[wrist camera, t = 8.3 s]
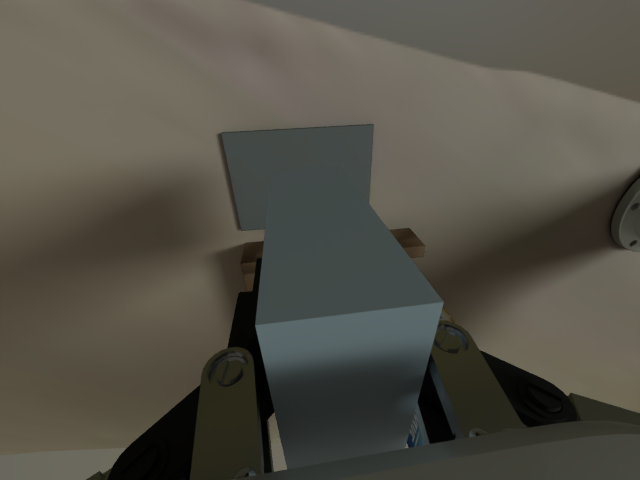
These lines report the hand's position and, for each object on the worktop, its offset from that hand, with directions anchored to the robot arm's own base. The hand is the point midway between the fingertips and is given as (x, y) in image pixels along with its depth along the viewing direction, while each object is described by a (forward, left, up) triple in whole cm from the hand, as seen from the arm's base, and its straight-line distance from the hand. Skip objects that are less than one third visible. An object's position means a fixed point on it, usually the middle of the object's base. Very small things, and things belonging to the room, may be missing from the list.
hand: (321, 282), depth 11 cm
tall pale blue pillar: (0, 0, -5) cm, 5 cm away
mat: (0, 0, -14) cm, 14 cm away
